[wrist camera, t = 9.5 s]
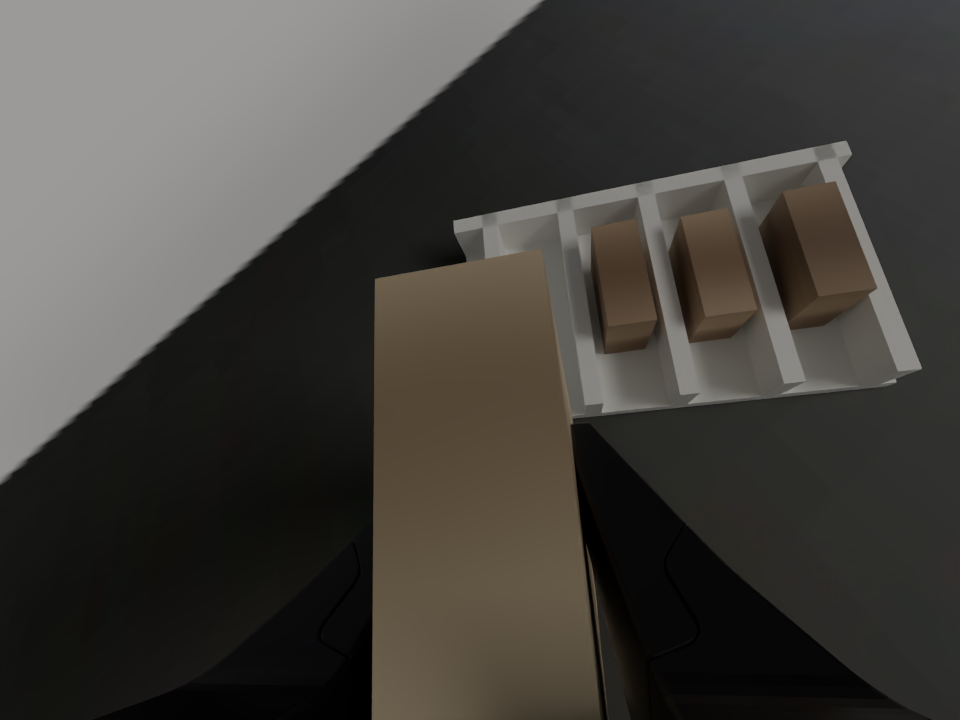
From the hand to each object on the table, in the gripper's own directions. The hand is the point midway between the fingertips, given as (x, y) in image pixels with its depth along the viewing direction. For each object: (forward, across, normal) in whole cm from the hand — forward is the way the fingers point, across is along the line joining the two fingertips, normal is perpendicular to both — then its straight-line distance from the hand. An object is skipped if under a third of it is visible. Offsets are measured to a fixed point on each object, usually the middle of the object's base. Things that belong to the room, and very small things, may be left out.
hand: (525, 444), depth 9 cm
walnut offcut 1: (+15, -4, +3) cm, 16 cm away
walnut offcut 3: (+15, -12, +3) cm, 19 cm away
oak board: (+4, 0, +6) cm, 7 cm away
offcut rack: (+15, -6, +4) cm, 17 cm away
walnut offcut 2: (+15, -8, +3) cm, 17 cm away
